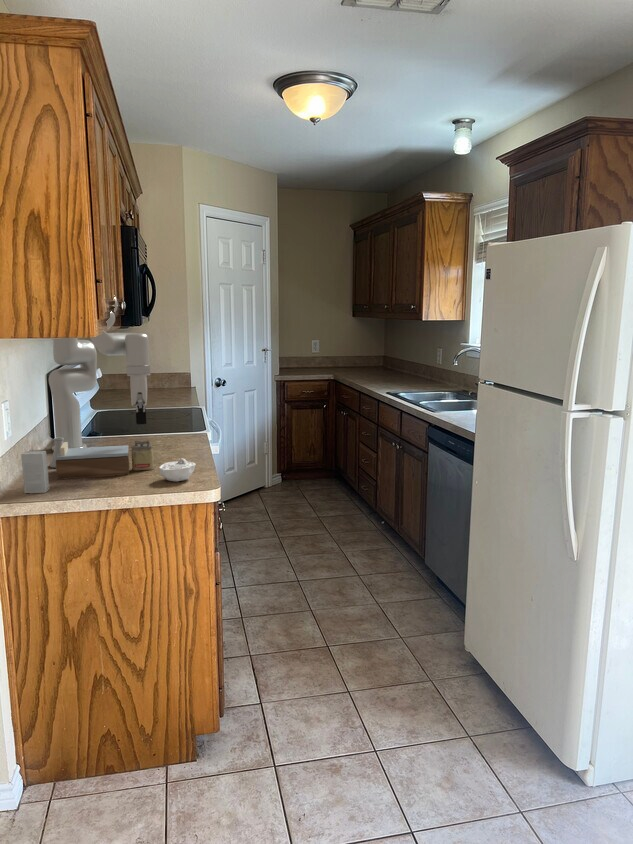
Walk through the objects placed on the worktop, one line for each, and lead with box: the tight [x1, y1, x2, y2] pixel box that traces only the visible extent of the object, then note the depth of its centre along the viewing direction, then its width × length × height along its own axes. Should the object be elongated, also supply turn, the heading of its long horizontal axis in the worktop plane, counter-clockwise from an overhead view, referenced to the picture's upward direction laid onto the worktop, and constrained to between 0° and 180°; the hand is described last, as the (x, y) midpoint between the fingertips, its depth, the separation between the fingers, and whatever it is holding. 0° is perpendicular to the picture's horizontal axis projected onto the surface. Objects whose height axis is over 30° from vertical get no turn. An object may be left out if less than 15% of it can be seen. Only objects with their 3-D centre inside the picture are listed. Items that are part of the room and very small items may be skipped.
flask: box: [49, 437, 64, 469], centre depth 215 cm, size 7×7×10 cm
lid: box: [56, 442, 129, 460], centre depth 206 cm, size 13×22×4 cm, turn 106°
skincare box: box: [20, 450, 50, 494], centre depth 183 cm, size 6×4×12 cm
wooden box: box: [55, 450, 130, 480], centre depth 206 cm, size 13×22×6 cm, turn 106°
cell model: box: [158, 457, 196, 482], centre depth 196 cm, size 10×12×7 cm
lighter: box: [130, 439, 155, 471], centre depth 210 cm, size 7×4×10 cm, turn 103°
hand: (141, 421), depth 208 cm, fingers open, 9 cm apart
